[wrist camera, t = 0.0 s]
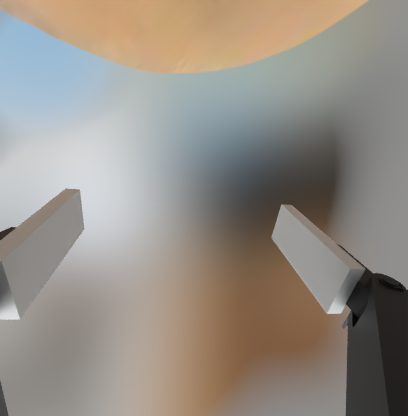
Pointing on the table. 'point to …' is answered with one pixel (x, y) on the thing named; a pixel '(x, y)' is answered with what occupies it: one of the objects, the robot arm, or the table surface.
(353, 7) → the table surface
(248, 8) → the table surface
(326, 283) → the robot arm
